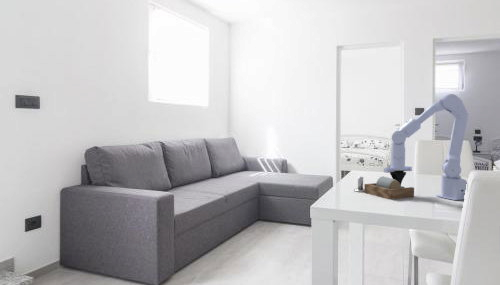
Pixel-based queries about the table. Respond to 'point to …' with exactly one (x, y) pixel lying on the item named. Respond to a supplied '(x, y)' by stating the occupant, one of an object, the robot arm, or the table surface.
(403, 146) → the robot arm
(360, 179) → the stand post
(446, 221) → the table surface
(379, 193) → the wooden tray
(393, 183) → the ceramic mug
